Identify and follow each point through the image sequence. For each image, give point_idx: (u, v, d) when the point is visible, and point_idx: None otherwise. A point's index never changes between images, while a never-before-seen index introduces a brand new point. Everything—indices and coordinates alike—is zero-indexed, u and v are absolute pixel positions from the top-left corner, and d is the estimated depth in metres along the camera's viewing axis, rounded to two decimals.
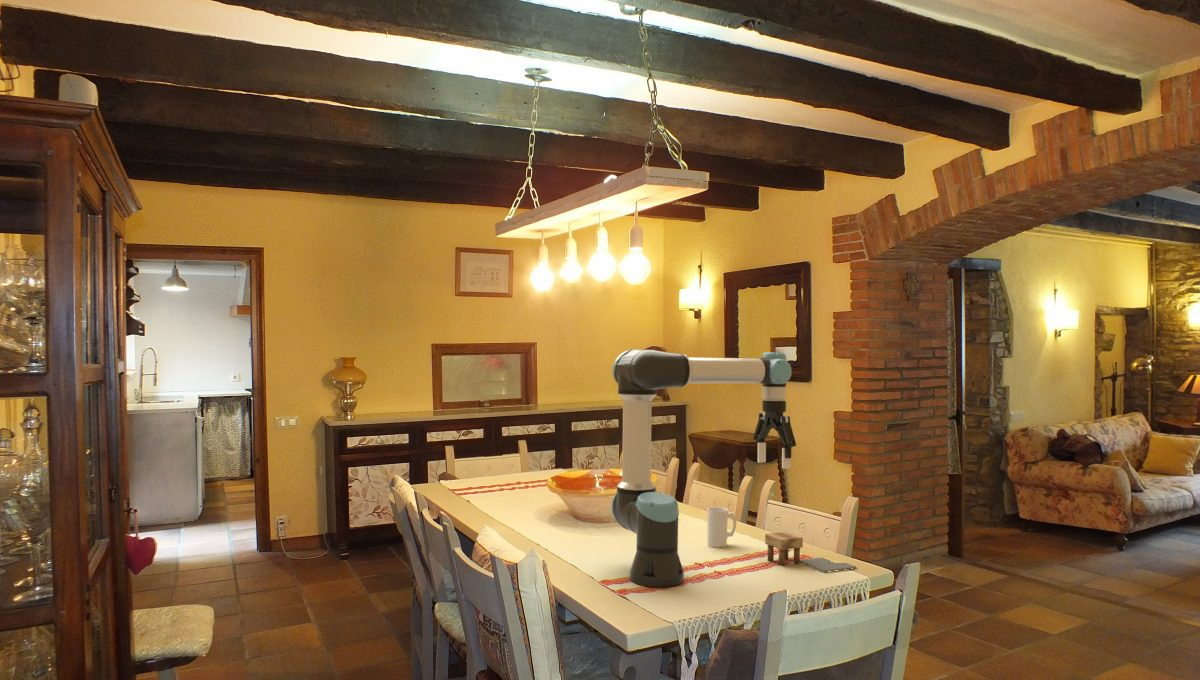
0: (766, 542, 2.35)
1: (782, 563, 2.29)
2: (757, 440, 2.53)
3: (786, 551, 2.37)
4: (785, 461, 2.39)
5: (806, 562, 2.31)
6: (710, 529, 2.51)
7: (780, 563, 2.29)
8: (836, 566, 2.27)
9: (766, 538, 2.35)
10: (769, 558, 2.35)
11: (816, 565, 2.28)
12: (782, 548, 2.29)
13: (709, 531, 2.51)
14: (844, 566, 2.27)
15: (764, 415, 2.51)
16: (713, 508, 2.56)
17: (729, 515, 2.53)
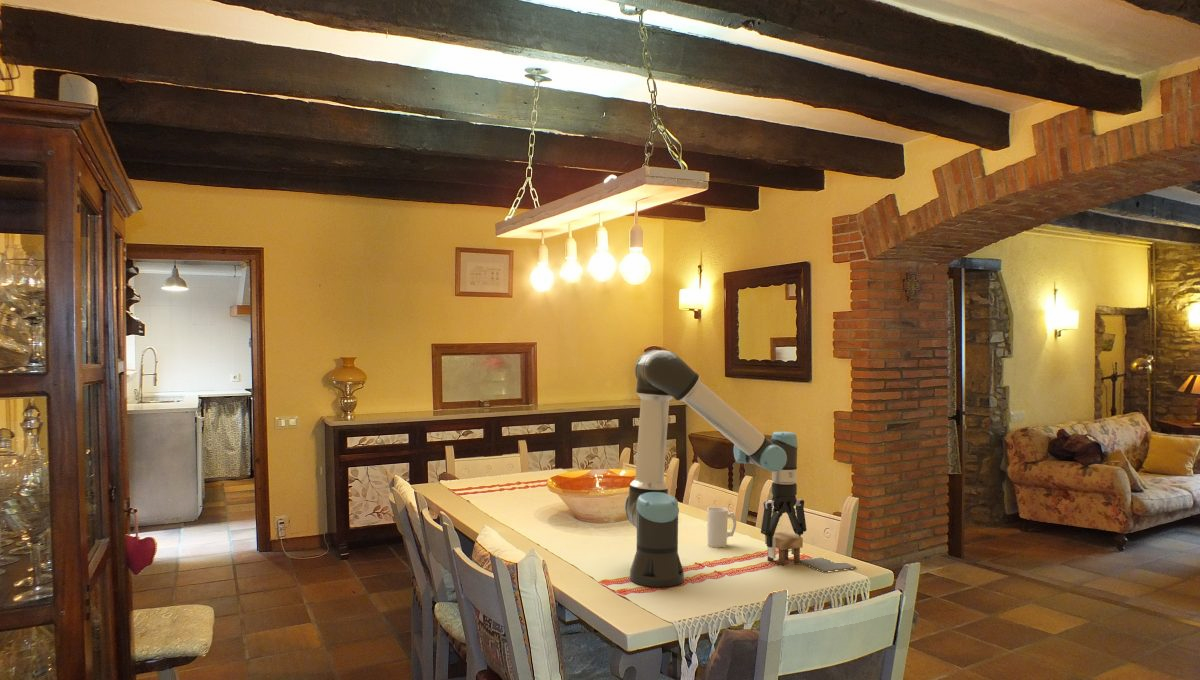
0: (766, 542, 2.35)
1: (782, 563, 2.29)
2: None
3: (786, 551, 2.37)
4: (769, 549, 2.33)
5: (806, 562, 2.31)
6: (710, 529, 2.51)
7: (780, 563, 2.29)
8: (836, 566, 2.27)
9: (766, 538, 2.35)
10: (769, 558, 2.35)
11: (816, 565, 2.28)
12: (782, 548, 2.29)
13: (709, 531, 2.51)
14: (844, 566, 2.27)
15: None
16: (713, 508, 2.56)
17: (729, 515, 2.53)
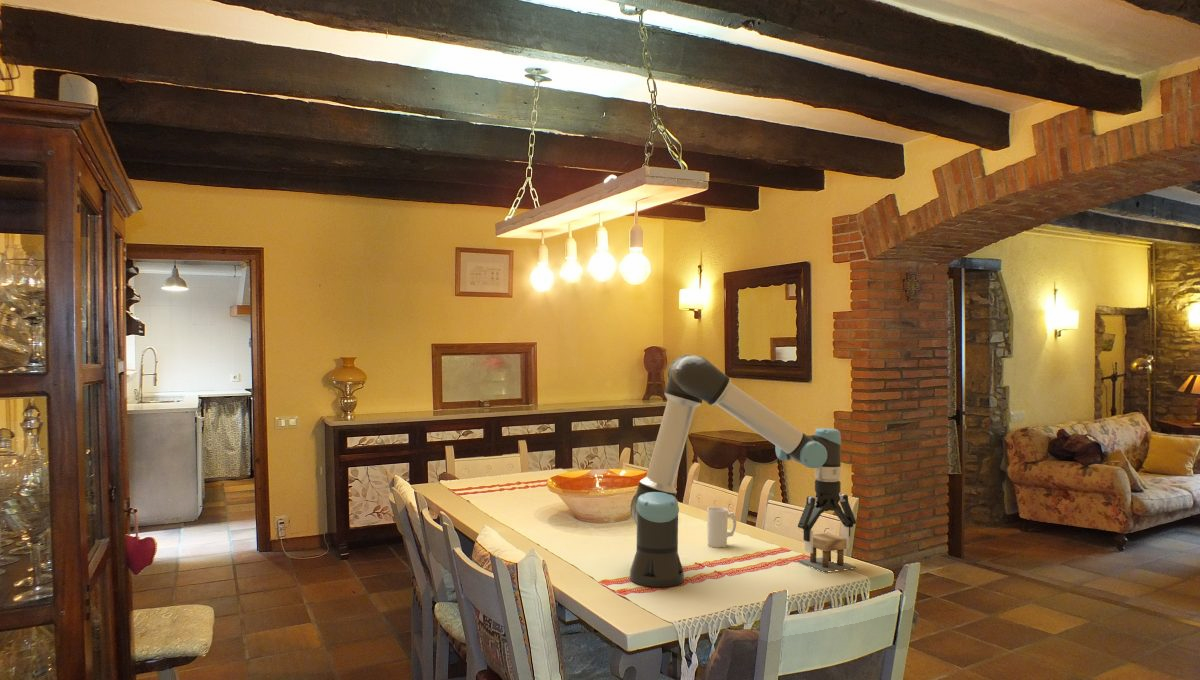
0: None
1: (826, 565, 2.26)
2: None
3: (829, 552, 2.33)
4: (806, 543, 2.28)
5: (806, 562, 2.31)
6: (710, 529, 2.51)
7: (824, 565, 2.26)
8: (836, 566, 2.27)
9: None
10: (812, 560, 2.31)
11: (816, 565, 2.28)
12: (826, 549, 2.25)
13: (709, 531, 2.51)
14: (844, 566, 2.27)
15: None
16: (713, 508, 2.56)
17: (729, 515, 2.53)
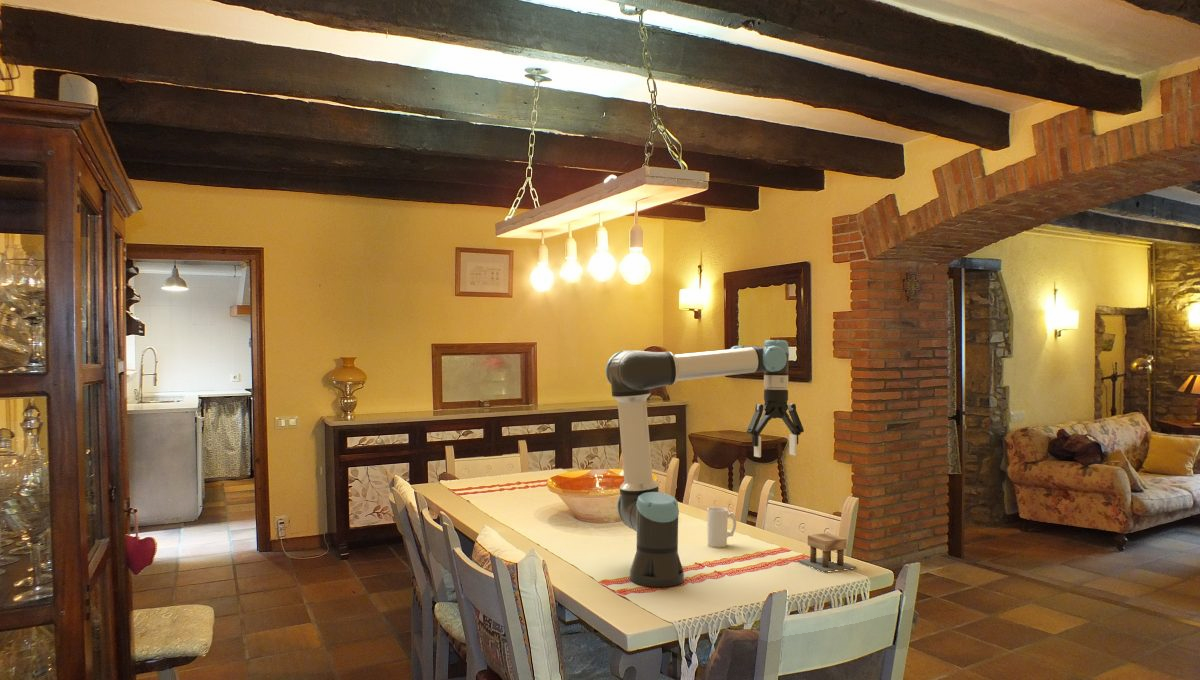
0: (809, 543, 2.32)
1: (826, 565, 2.26)
2: None
3: (829, 552, 2.33)
4: (755, 449, 2.38)
5: (806, 562, 2.31)
6: (710, 529, 2.51)
7: (824, 565, 2.26)
8: (836, 566, 2.27)
9: (809, 539, 2.32)
10: (812, 560, 2.31)
11: (816, 565, 2.28)
12: (826, 549, 2.25)
13: (709, 531, 2.51)
14: (844, 566, 2.27)
15: None
16: (713, 508, 2.56)
17: (729, 515, 2.53)
